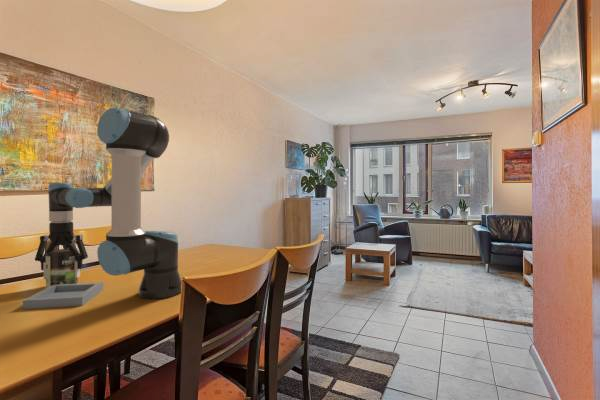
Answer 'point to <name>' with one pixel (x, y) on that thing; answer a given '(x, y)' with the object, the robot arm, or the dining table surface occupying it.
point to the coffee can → (60, 267)
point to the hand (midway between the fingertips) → (62, 277)
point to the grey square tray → (63, 295)
